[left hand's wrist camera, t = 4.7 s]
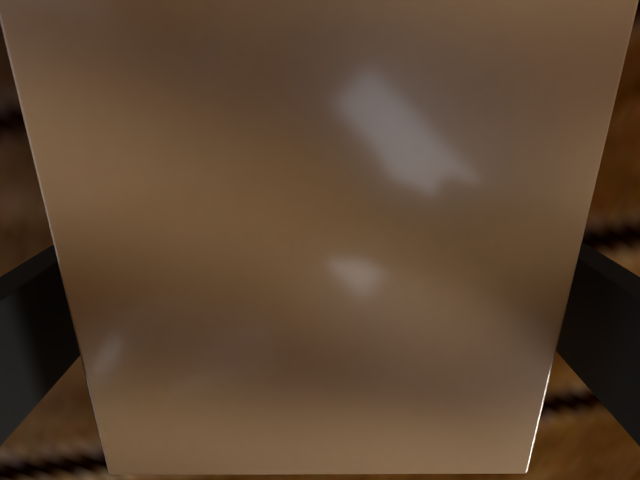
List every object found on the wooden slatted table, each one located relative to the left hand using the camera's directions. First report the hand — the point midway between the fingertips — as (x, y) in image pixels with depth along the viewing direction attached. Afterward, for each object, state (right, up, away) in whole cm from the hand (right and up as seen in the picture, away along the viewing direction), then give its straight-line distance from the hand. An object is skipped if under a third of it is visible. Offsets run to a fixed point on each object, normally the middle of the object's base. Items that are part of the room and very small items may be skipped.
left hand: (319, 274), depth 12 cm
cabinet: (0, +7, +3) cm, 8 cm away
